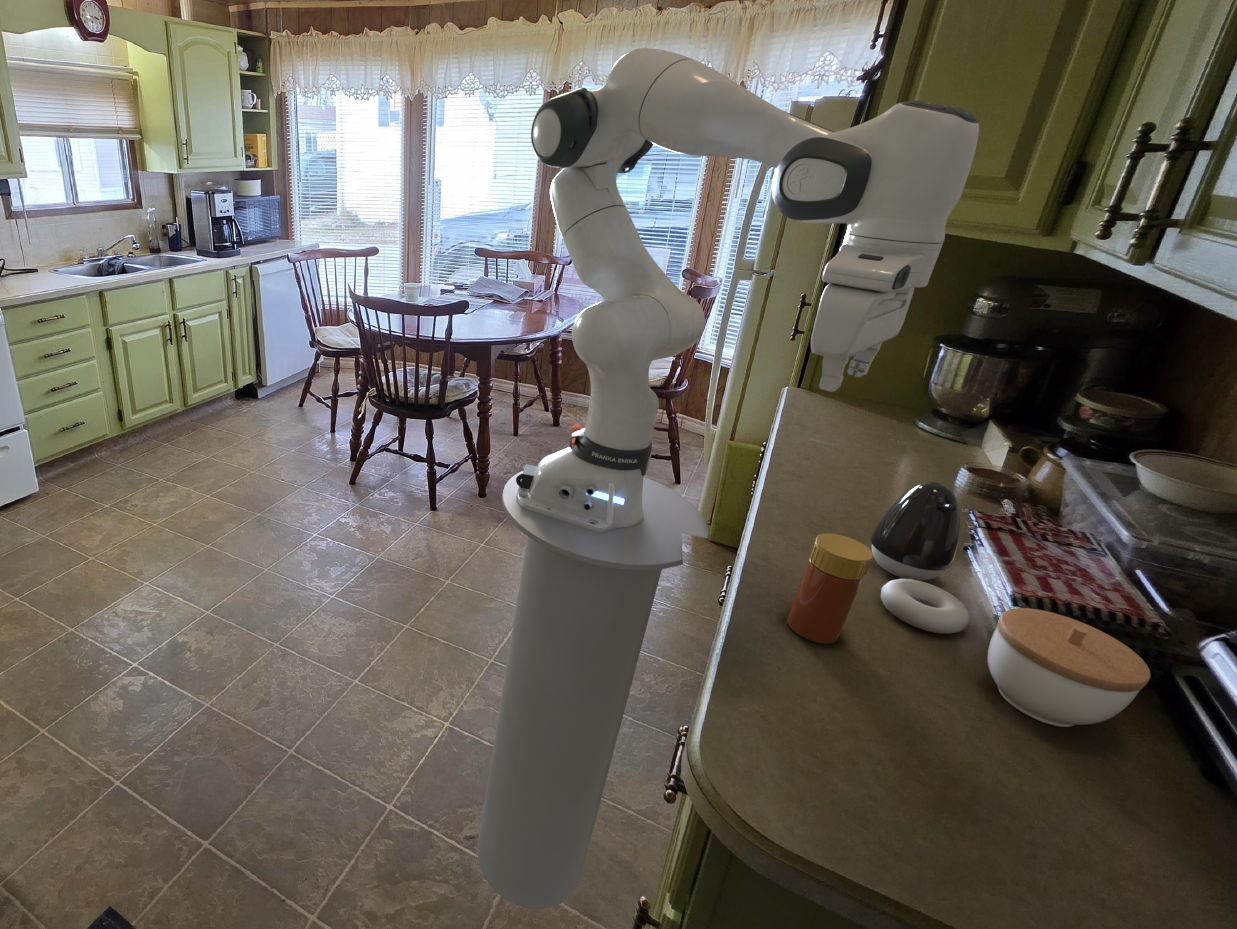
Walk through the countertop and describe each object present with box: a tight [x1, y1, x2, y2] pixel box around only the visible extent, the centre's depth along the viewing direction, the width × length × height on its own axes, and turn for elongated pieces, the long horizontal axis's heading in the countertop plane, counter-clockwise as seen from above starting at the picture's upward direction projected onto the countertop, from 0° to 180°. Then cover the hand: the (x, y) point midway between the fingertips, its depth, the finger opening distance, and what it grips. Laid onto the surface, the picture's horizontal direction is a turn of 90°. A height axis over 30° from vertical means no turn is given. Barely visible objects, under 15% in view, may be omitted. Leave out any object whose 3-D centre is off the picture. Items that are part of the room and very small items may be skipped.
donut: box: [880, 578, 970, 635], centre depth 94 cm, size 10×3×10 cm
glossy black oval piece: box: [870, 481, 961, 582], centre depth 101 cm, size 10×10×15 cm
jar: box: [786, 558, 864, 645], centre depth 88 cm, size 6×6×13 cm
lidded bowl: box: [986, 607, 1151, 728], centre depth 78 cm, size 13×13×11 cm
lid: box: [808, 532, 874, 580], centre depth 86 cm, size 6×6×3 cm
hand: (842, 382), depth 80 cm, fingers open, 8 cm apart
